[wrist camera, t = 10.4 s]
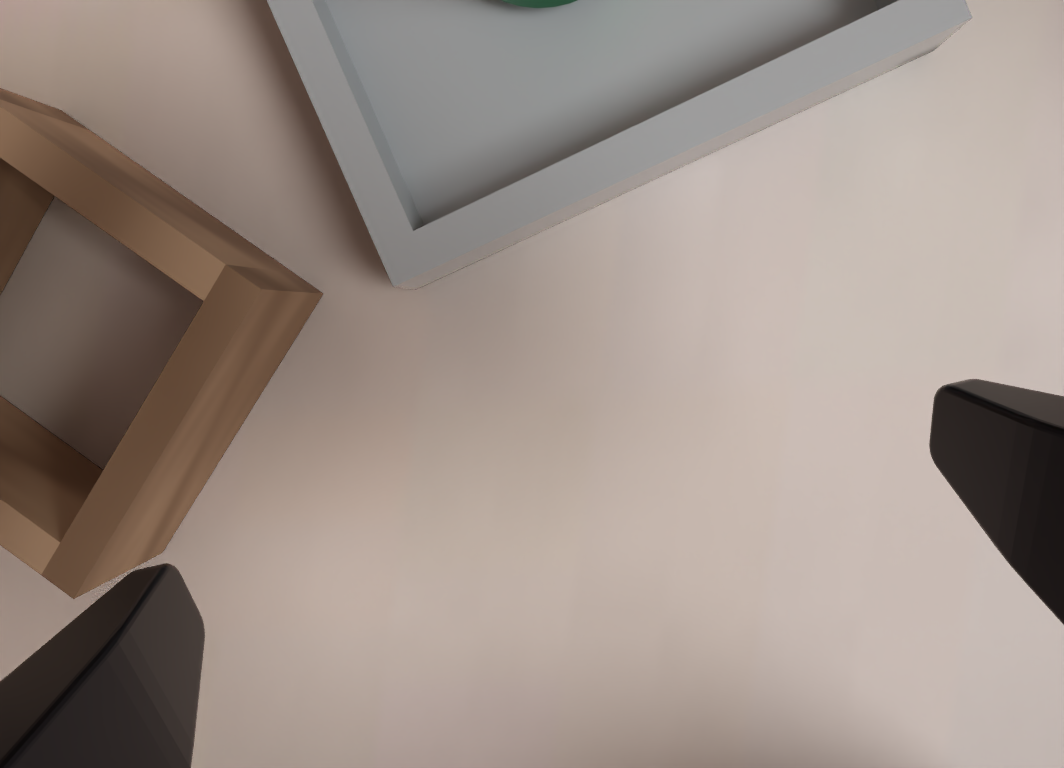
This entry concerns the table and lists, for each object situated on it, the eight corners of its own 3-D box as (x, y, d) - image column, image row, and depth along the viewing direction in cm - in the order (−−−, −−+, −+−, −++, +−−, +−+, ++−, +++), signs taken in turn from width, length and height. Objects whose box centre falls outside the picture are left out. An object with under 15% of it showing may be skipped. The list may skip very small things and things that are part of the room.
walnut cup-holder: (323, 293, 20) (261, 289, 17) (162, 552, 21) (73, 599, 18) (61, 110, 20) (-53, 69, 17) (-82, 375, 22) (-214, 387, 18)
